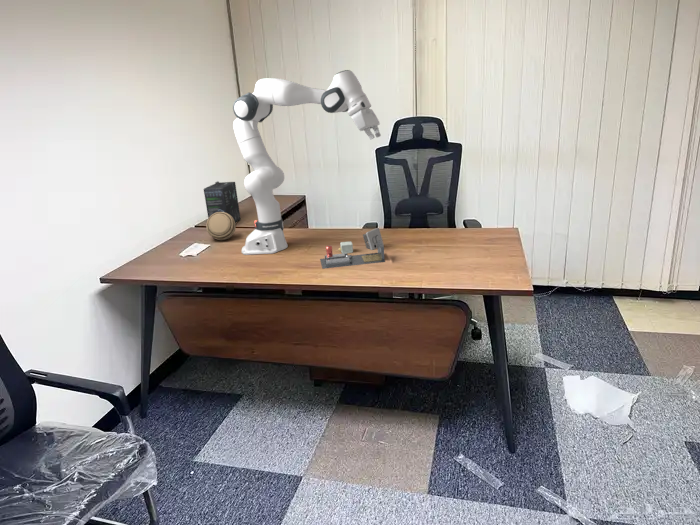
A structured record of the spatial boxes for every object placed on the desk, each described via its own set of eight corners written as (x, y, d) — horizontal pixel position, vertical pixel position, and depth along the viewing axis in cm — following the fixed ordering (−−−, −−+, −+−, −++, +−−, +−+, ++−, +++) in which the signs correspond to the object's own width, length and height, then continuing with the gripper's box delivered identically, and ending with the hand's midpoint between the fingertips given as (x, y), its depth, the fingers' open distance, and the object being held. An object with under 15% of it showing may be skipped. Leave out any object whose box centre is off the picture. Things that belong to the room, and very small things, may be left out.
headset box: (222, 220, 300) (216, 178, 292) (241, 219, 299) (235, 177, 290) (209, 230, 279) (201, 185, 271) (229, 229, 278) (222, 184, 269)
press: (322, 270, 202) (321, 255, 200) (320, 261, 214) (318, 246, 212) (385, 264, 205) (384, 248, 203) (379, 254, 217) (378, 239, 215)
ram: (327, 263, 207) (325, 247, 205) (326, 261, 210) (325, 245, 207) (352, 260, 208) (351, 245, 206) (351, 258, 211) (350, 243, 208)
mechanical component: (203, 241, 258) (198, 213, 253) (226, 234, 268) (222, 207, 263) (219, 245, 248) (215, 217, 244) (243, 237, 259) (239, 210, 254)
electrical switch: (372, 252, 221) (370, 232, 219) (363, 251, 225) (361, 232, 222) (384, 246, 228) (382, 227, 226) (375, 246, 231) (373, 227, 229)
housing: (339, 256, 219) (339, 245, 218) (338, 253, 224) (337, 242, 222) (353, 254, 220) (352, 244, 218) (351, 251, 225) (350, 241, 223)
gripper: (361, 110, 210) (376, 139, 212) (345, 112, 191) (362, 143, 193) (373, 102, 207) (388, 132, 209) (359, 104, 189) (375, 136, 191)
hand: (375, 137), depth 201 cm, fingers open, 8 cm apart
